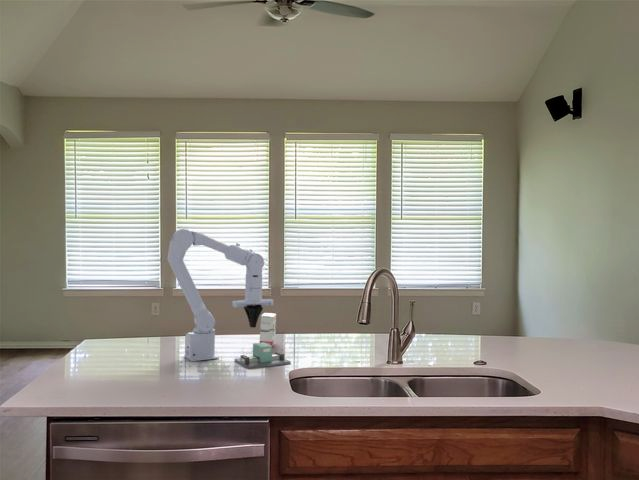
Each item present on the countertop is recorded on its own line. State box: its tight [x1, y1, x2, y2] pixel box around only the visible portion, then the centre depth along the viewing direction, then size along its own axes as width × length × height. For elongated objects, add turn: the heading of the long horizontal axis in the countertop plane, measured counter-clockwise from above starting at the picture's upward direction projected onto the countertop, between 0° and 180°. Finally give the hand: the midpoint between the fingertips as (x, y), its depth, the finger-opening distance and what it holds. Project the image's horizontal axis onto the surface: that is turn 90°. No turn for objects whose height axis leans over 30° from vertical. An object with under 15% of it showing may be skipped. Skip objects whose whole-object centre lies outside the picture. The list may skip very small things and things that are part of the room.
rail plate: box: [234, 350, 292, 370], centre depth 178 cm, size 15×11×3 cm
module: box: [252, 342, 273, 363], centre depth 179 cm, size 4×6×5 cm, turn 31°
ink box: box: [259, 312, 277, 348], centre depth 204 cm, size 9×5×12 cm, turn 177°
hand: (252, 327), depth 188 cm, fingers closed
